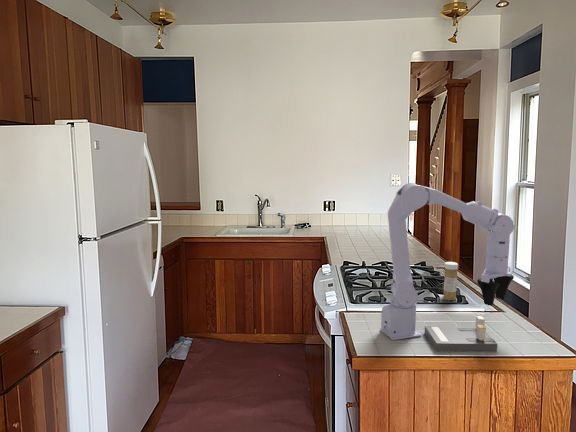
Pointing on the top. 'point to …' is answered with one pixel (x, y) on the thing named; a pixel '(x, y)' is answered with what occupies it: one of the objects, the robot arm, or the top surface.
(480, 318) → the handle
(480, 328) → the breaker handle
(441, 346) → the box
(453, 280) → the sprinkles bottle
